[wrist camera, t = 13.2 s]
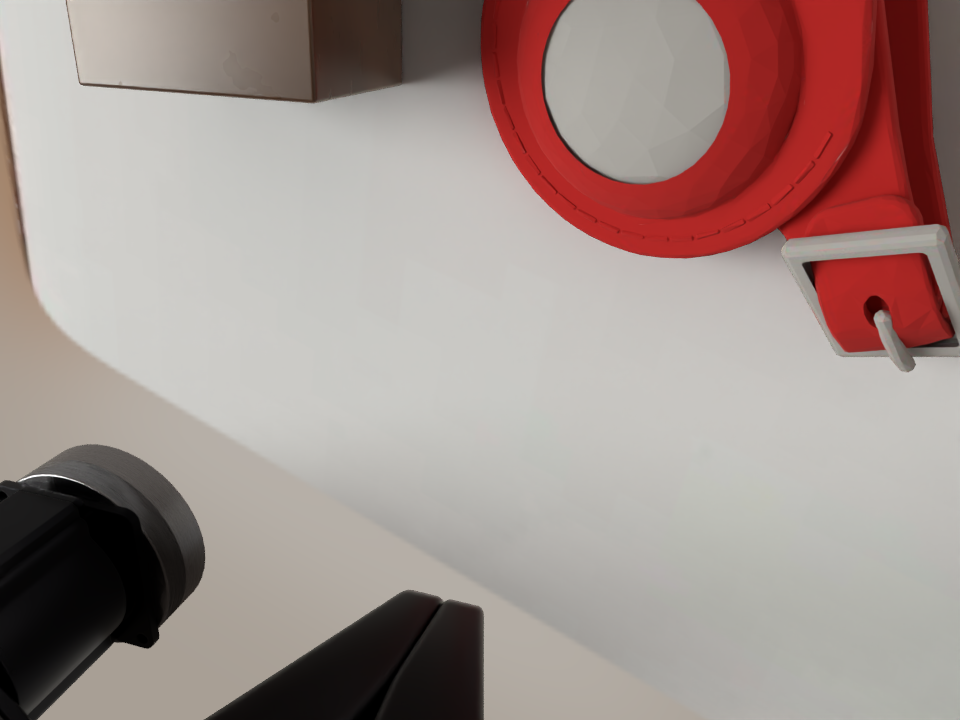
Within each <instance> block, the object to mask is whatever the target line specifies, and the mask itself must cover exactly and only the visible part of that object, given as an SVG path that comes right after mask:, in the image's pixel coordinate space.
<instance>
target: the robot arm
mask: <svg viewBox="0 0 960 720" xmlns="http://www.w3.org/2000/svg"><path fill="white" fill-rule="evenodd" d="M483 615H484V614H483V610H482V609H481V608H480V607H479V606H476V605H471V604H467V603H463V602H459V601H455V600H447V601H445V602H443V600H442V599H441V598H440V597H438V596H434V595H430V594H426V593H422V592H418V591H414V590H406V591H403V592H401V593H399V594H398V595H396V596H395V597H393V598H391V599H390V600H388V601H387V602H385V603H384V604H382V605H381V606H379V607H377V608H376V609H374V610H373V611H371V612H370V613H368V614H367V615H365V616H364V617H362V618H361V619H359V620H357V621H356V622H354V623H353V624H352V625H350V626H348V627H347V628H345V629H343V630H342V631H340V632H339V633H337V634H336V635H334V636H333V637H331V638H330V639H328V640H326V641H325V642H324V643H322V644H320V645H319V646H317V647H316V648H314V649H313V650H311V651H310V652H308V653H307V654H305V655H303V656H302V657H300V658H299V659H297V660H296V661H294V662H293V663H291V664H289V665H288V666H286V667H285V668H283V669H282V670H280V671H279V672H277V673H276V674H274V675H272V676H271V677H269V678H268V679H266V680H265V681H263V682H262V683H260V684H259V685H257V686H255V687H254V688H252V689H251V690H249V691H248V692H246V693H245V694H243V695H242V696H240V697H239V698H237V699H236V700H234V701H232V702H231V703H229V704H228V705H226V706H225V707H223V708H222V709H220V710H218V711H217V712H215V713H214V714H212V715H211V716H209V717H208V718H206V719H205V720H484V714H483V713H484V709H483V708H484V706H483V705H484V703H483V702H484V701H483V700H484V696H483V695H484V694H483V692H484V688H483V687H484V683H483V682H484V677H483V676H484V673H483V672H484V669H483V667H484V665H483V664H484V657H483V656H484V655H483V654H484V645H483V644H484V638H483V637H484V631H483V630H484V616H483ZM158 639H159V630H158V624H157V618H156V612H155V606H154V600H153V594H152V588H151V582H150V577H149V571H148V565H147V559H146V553H145V547H144V541H143V535H142V530H141V524H140V520H139V517H138V516H137V515H136V513H135V512H133V511H132V510H130V509H128V508H124V507H120V506H116V505H111V504H107V503H103V502H99V501H94V500H90V499H86V498H82V497H78V496H73V495H69V494H65V493H61V492H56V491H52V490H48V489H44V488H39V487H35V486H31V485H27V484H22V483H18V482H14V481H10V480H4V481H2V482H1V483H0V720H37V719H38V718H39V717H40V716H41V715H42V714H43V713H44V712H45V711H46V710H47V709H48V708H49V707H50V706H51V705H52V704H53V703H54V702H55V701H56V700H57V699H58V698H59V697H60V696H61V695H62V694H63V693H64V692H65V691H66V690H67V689H68V688H69V687H70V686H71V685H72V684H73V683H74V682H75V681H76V680H77V679H78V678H79V677H80V676H81V675H82V674H83V673H84V672H85V671H86V670H87V669H88V668H89V667H90V666H91V665H92V664H93V663H94V662H95V661H96V660H97V659H98V658H99V657H100V656H101V655H102V654H103V653H104V652H105V651H106V650H107V649H108V648H109V647H110V646H111V645H112V644H113V643H114V642H115V641H116V640H117V641H120V642H124V643H127V644H131V645H135V646H138V647H142V648H146V649H149V648H151V647H152V646H153V645H154V644H155V643H156V642H157V641H158Z"/></svg>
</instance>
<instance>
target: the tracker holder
mask: <svg viewBox="0 0 960 720" xmlns="http://www.w3.org/2000/svg"><path fill="white" fill-rule="evenodd" d="M481 61H482V70H483V78H484V84H485V89H486V93H487V97H488V101H489V105H490V109H491V113H492V116H493V118H494V121H495V123H496V126H497V128H498V131H499V133H500V136H501V138H502V141H503V142H504V144H505V146H506V148H507V150H508V152H509V154H510V156H511V158H512V160H513V161H514V163H515V164H516V166H517V168H518V169H519V170H520V172H521V173H522V175H523V176H524V177H525V179H526V180H527V181H528V183H529V184H530V185H531V187H532V188H533V189H534V191H535V192H536V193H537V194H538V195H539V196H540V197H541V198H542V199H543V200H544V201H545V202H546V203H547V204H548V205H549V206H550V207H551V208H552V209H553V210H554V211H556V212H557V213H558V214H559V215H560V216H561V217H562V218H564V219H565V220H566V221H568V222H569V223H571V224H572V225H573V226H575V227H576V228H578V229H580V230H581V231H583V232H585V233H586V234H588V235H589V236H591V237H594V238H596V239H598V240H600V241H602V242H604V243H606V244H609V245H611V246H614V247H617V248H619V249H622V250H625V251H628V252H632V253H636V254H639V255H646V256H653V257H661V258H693V257H701V256H709V255H714V254H718V253H722V252H726V251H730V250H733V249H736V248H738V247H741V246H744V245H747V244H750V243H752V242H754V241H756V240H758V239H759V238H761V237H763V236H765V235H767V234H769V233H771V232H773V231H774V230H775V229H777V228H778V229H779V230H780V231H781V232H782V234H783V235H784V236H785V238H786V239H787V242H786V243H785V244H784V246H783V248H782V251H781V252H782V257H783V258H784V260H785V262H786V264H787V266H788V267H789V269H790V271H791V273H792V275H793V277H794V278H795V280H796V282H797V284H798V286H799V287H800V289H801V291H802V293H803V295H804V297H805V298H806V300H807V302H808V304H809V306H810V307H811V309H812V311H813V313H814V315H815V317H816V318H817V320H818V322H819V324H820V326H821V327H822V329H823V331H824V333H825V335H826V337H827V338H828V340H829V342H830V344H831V346H832V348H833V349H834V351H835V353H836V355H839V356H842V357H890V359H891V360H892V361H893V362H894V363H895V365H896V366H897V367H898V368H899V369H900V370H901V371H904V372H909V371H911V370H913V369H914V367H915V365H916V364H915V361H914V359H913V358H912V357H960V266H959V263H958V260H957V256H956V253H955V250H954V247H953V241H952V236H951V230H950V225H949V220H948V214H947V209H946V203H945V198H944V192H943V187H942V182H941V176H940V171H939V165H938V160H937V155H936V149H935V144H934V138H933V117H932V93H931V69H930V46H929V22H928V0H484V3H483V8H482V18H481Z"/></svg>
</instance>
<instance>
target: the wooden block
mask: <svg viewBox="0 0 960 720" xmlns="http://www.w3.org/2000/svg"><path fill="white" fill-rule="evenodd" d="M66 5H67V11H68V17H69V23H70V29H71V36H72V42H73V48H74V54H75V60H76V66H77V72H78V78H79V83H80V84H81V85H83V86H94V87H107V88H120V89H133V90H146V91H159V92H172V93H185V94H198V95H211V96H225V97H238V98H251V99H264V100H277V101H290V102H303V103H318V102H323V101H327V100H332V99H337V98H342V97H346V96H351V95H356V94H361V93H366V92H370V91H375V90H380V89H385V88H389V87H394V86H399V85H401V83H402V17H401V0H66Z"/></svg>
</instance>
